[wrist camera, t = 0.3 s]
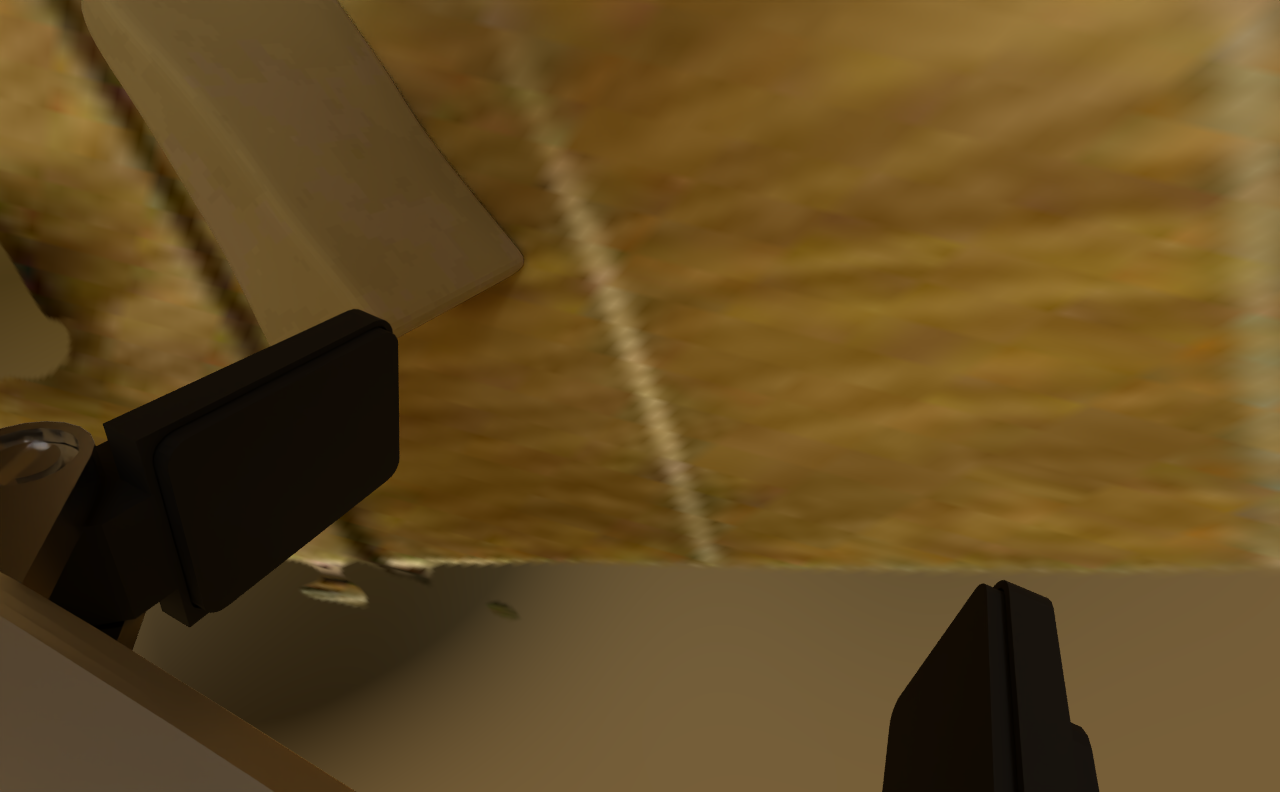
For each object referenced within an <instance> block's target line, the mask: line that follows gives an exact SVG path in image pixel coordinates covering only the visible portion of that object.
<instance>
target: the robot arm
mask: <svg viewBox="0 0 1280 792" xmlns="http://www.w3.org/2000/svg"><path fill="white" fill-rule="evenodd" d="M103 426H104V429H105V432H106V436H107V439H108V441H106V442H104V443H102V444H100V445H98V446H95V443H94V440H93V438H92V436H91V434H90V433H89V432H87V431H86V430H84V429H83V428H81V427H80V426H76V425H72V424H69V423H65V422H50V421H43V422H31V423H22V424H18V425H14V426H9V427H5V428H1V429H0V792H356V791H354V790H353V789H351V788H349V787H348V786H346V785H345V784H343V783H342V782H340V781H338V780H337V779H335V778H334V777H332V776H330V775H329V774H327V773H326V772H324V771H323V770H321V769H319V768H318V767H316V766H315V765H313V764H311V763H310V762H308V761H307V760H305V759H304V758H302V757H301V756H299V755H297V754H296V753H294V752H293V751H291V750H289V749H288V748H286V747H285V746H283V745H282V744H280V743H278V742H277V741H275V740H274V739H272V738H270V737H269V736H267V735H266V734H264V733H262V732H261V731H259V730H258V729H256V728H255V727H253V726H252V725H250V724H248V723H247V722H245V721H244V720H242V719H240V718H239V717H237V716H236V715H234V714H232V713H231V712H229V711H228V710H226V709H225V708H223V707H221V706H219V705H218V704H216V703H215V702H213V701H212V700H210V699H208V698H207V697H205V696H204V695H202V694H201V693H199V692H197V691H196V690H194V689H193V688H191V687H189V686H188V685H186V684H185V683H183V682H181V681H180V680H178V679H176V678H175V677H173V676H172V675H170V674H169V673H167V672H165V671H164V670H162V669H161V668H159V667H158V666H156V665H154V664H153V663H151V662H149V661H148V660H146V659H145V658H143V657H142V656H140V655H138V654H137V653H135V652H134V651H133V648H134V645H135V642H136V639H137V636H138V633H139V630H140V628H141V625H142V622H143V619H144V616H145V613H146V611H147V610H148V609H150V608H151V607H152V606H154V605H155V604H157V603H158V602H160V605H161V608H162V611H163V612H165V613H167V614H168V615H170V616H172V617H173V618H175V619H176V620H178V621H180V622H181V623H183V624H185V625H186V626H188V627H191V626H192V625H194V624H195V623H196V622H197V621H199V620H200V619H201V618H202V617H204V616H205V615H206V614H208V613H209V612H210V613H211V612H218V611H220V610H222V609H224V608H225V607H227V606H228V605H229V604H231V603H232V602H233V601H235V600H236V599H237V598H238V597H239V596H241V595H242V594H243V593H245V592H246V591H247V590H249V589H250V588H251V587H252V586H254V585H255V584H256V583H257V582H259V581H260V580H261V579H262V578H264V577H265V576H266V575H268V574H269V573H270V572H271V571H273V570H274V569H275V568H277V567H278V566H279V565H280V564H281V563H283V562H284V561H285V560H287V559H288V558H289V557H290V556H292V555H293V554H294V553H296V552H297V551H298V550H299V549H301V548H302V547H303V546H304V545H306V544H307V543H308V542H310V541H311V540H312V539H313V538H315V537H316V536H317V535H318V534H320V533H321V532H322V531H324V530H325V529H326V528H327V527H329V526H330V525H331V524H332V523H334V522H335V521H336V520H337V519H339V518H340V517H341V516H343V515H344V514H345V513H346V512H348V511H349V510H350V509H351V508H353V507H354V506H355V505H357V504H358V503H359V502H360V501H362V500H363V499H364V498H365V497H367V496H368V495H369V494H371V493H372V492H373V491H374V490H376V489H377V488H378V487H379V486H381V485H382V484H383V483H385V482H386V481H387V480H388V479H389V478H390V477H391V476H392V475H393V474H394V472H395V471H396V469H397V466H398V463H399V382H398V340H397V337H396V335H395V334H393V330H392V327H391V325H390V323H388V322H387V321H386V320H383V319H381V318H378V317H376V316H374V315H371V314H369V313H367V312H364V311H362V310H359V309H352V310H348V311H346V312H344V313H341V314H339V315H337V316H335V317H333V318H331V319H329V320H326V321H324V322H322V323H320V324H318V325H316V326H313V327H311V328H309V329H307V330H305V331H303V332H300V333H298V334H296V335H294V336H292V337H290V338H287V339H285V340H283V341H281V342H279V343H277V344H274V345H272V346H270V347H268V348H266V349H264V350H261V351H259V352H257V353H255V354H253V355H251V356H248V357H246V358H244V359H242V360H240V361H238V362H236V363H233V364H231V365H229V366H227V367H225V368H223V369H220V370H218V371H216V372H214V373H212V374H210V375H207V376H205V377H203V378H201V379H199V380H197V381H194V382H192V383H190V384H188V385H186V386H184V387H181V388H179V389H177V390H175V391H173V392H171V393H168V394H166V395H164V396H162V397H160V398H158V399H155V400H153V401H151V402H149V403H147V404H145V405H143V406H140V407H138V408H136V409H134V410H132V411H130V412H127V413H125V414H123V415H121V416H119V417H117V418H114V419H112V420H110V421H108V422H106V423H104V424H103ZM882 792H1099V787H1098V782H1097V777H1096V770H1095V764H1094V759H1093V753H1092V748H1091V745H1090V742H1089V738H1088V735H1087V734H1086V733H1085V731H1084V730H1083V729H1082V727H1080V726H1078V725H1075V724H1073V723H1071V722H1070V716H1069V709H1068V702H1067V695H1066V689H1065V682H1064V675H1063V669H1062V662H1061V655H1060V648H1059V642H1058V635H1057V629H1056V622H1055V615H1054V608H1053V605H1052V602H1051V601H1050V600H1049V599H1048V598H1046V597H1043V596H1041V595H1039V594H1036V593H1034V592H1031V591H1029V590H1027V589H1024V588H1022V587H1020V586H1017V585H1015V584H1012V583H1010V582H1007V581H1005V580H1001V581H999V582H998V583H997V584H996V585H995V586H994V587H991V586H988V585H986V584H980V585H979V586H978V587H977V588H976V589H975V590H974V592H973V593H972V595H971V596H970V597H969V599H968V600H967V602H966V603H965V605H964V606H963V608H962V609H961V610H960V612H959V613H958V614H957V616H956V617H955V619H954V620H953V622H952V623H951V624H950V626H949V627H948V629H947V630H946V632H945V633H944V634H943V636H942V637H941V639H940V640H939V641H938V643H937V644H936V646H935V647H934V648H933V650H932V651H931V653H930V654H929V656H928V657H927V658H926V660H925V661H924V663H923V664H922V665H921V667H920V668H919V670H918V671H917V673H916V674H915V676H914V677H913V678H912V680H911V681H910V683H909V684H908V685H907V687H906V688H905V690H904V691H903V692H902V694H901V695H900V697H899V698H898V700H897V702H896V705H895V707H894V709H893V712H892V716H891V720H890V726H889V735H888V745H887V754H886V763H885V772H884V782H883V790H882Z"/></svg>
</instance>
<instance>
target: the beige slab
mask: <svg viewBox="0 0 1280 792" xmlns="http://www.w3.org/2000/svg"><path fill="white" fill-rule="evenodd" d="M81 3H82V12H83V16H84V19H85V22H86V25H87V27H88V29H89V31H90V34H91V36H92V37H93V39H94V41H95V43H96V45H97V47H98V49H99V50H100V52H101V54H102V55H103V57H104V59H105V60H106V62H107V63H108V65H109V67H110V68H111V70H112V71H113V73H114V74H115V76H116V77H117V79H118V80H119V82H120V83H121V85H122V86H123V88H124V89H125V91H126V92H127V94H128V95H129V97H130V98H131V100H132V102H133V103H134V105H135V106H136V108H137V109H138V111H139V112H140V114H141V116H142V117H143V119H144V120H145V122H146V124H147V125H148V127H149V128H150V130H151V132H152V133H153V135H154V137H155V138H156V140H157V142H158V143H159V145H160V146H161V148H162V150H163V151H164V153H165V155H166V156H167V158H168V160H169V161H170V163H171V165H172V166H173V168H174V170H175V171H176V173H177V175H178V176H179V178H180V180H181V181H182V183H183V184H184V186H185V188H186V189H187V191H188V193H189V194H190V196H191V198H192V199H193V201H194V203H195V204H196V206H197V208H198V209H199V211H200V213H201V214H202V216H203V218H204V219H205V221H206V223H207V224H208V226H209V228H210V230H211V231H212V233H213V235H214V237H215V238H216V240H217V242H218V244H219V245H220V247H221V249H222V251H223V253H224V255H225V256H226V258H227V260H228V262H229V264H230V266H231V268H232V270H233V272H234V274H235V276H236V278H237V280H238V282H239V284H240V286H241V288H242V290H243V292H244V294H245V296H246V298H247V300H248V302H249V304H250V306H251V308H252V310H253V313H254V315H255V317H256V319H257V321H258V323H259V325H260V327H261V329H262V331H263V333H264V335H265V337H266V339H267V341H268V343H269V345H270V346H272V345H274V344H277V343H279V342H281V341H283V340H285V339H287V338H290V337H292V336H294V335H296V334H298V333H300V332H303V331H305V330H307V329H309V328H311V327H313V326H316V325H318V324H320V323H322V322H324V321H326V320H329V319H331V318H333V317H335V316H337V315H339V314H341V313H344V312H346V311H348V310H352V309H359V310H362V311H364V312H367V313H369V314H371V315H374V316H376V317H378V318H381V319H383V320H386V321H387V322H388V323H390V325H391V327H392V330H393V334H395V335H396V337H397V338H398V337H400V336H402V335H404V334H406V333H407V332H409V331H411V330H413V329H415V328H417V327H418V326H420V325H422V324H424V323H426V322H428V321H429V320H431V319H433V318H435V317H437V316H438V315H440V314H442V313H444V312H446V311H448V310H449V309H451V308H453V307H455V306H457V305H459V304H460V303H462V302H464V301H466V300H468V299H470V298H471V297H473V296H475V295H477V294H479V293H481V292H482V291H484V290H486V289H488V288H490V287H492V286H493V285H495V284H497V283H499V282H501V281H503V280H504V279H506V278H508V277H510V276H511V275H513V274H514V273H515V272H517V271H518V270H519V269H520V268H521V267H522V266H523V263H524V259H523V256H522V254H521V253H520V251H519V250H518V249H517V247H516V246H515V245H514V244H513V242H512V241H511V240H510V239H509V237H508V236H507V235H506V234H505V232H504V231H503V230H502V229H501V228H500V226H499V225H498V224H497V223H496V221H495V220H494V219H493V218H492V217H491V215H490V214H489V213H488V212H487V211H486V209H485V208H484V207H483V206H482V204H481V203H480V202H479V201H478V199H477V198H476V197H475V196H474V195H473V193H472V192H471V191H470V190H469V188H468V187H467V186H466V185H465V183H464V182H463V181H462V180H461V178H460V177H459V176H458V175H457V173H456V172H455V171H454V170H453V168H452V167H451V166H450V164H449V163H448V162H447V161H446V159H445V158H444V157H443V155H442V154H441V153H440V151H439V150H438V149H437V147H436V146H435V145H434V143H433V142H432V141H431V139H430V138H429V137H428V135H427V134H426V132H425V131H424V129H423V128H422V127H421V125H420V124H419V122H418V121H417V119H416V118H415V116H414V115H413V113H412V112H411V110H410V109H409V107H408V105H407V104H406V102H405V101H404V99H403V97H402V96H401V94H400V93H399V91H398V89H397V88H396V86H395V84H394V83H393V81H392V80H391V78H390V77H389V75H388V73H387V72H386V70H385V69H384V67H383V66H382V64H381V63H380V61H379V60H378V58H377V57H376V55H375V54H374V53H373V51H372V50H371V48H370V47H369V45H368V44H367V42H366V41H365V40H364V38H363V37H362V35H361V34H360V33H359V31H358V30H357V28H356V27H355V25H354V24H353V23H352V21H351V20H350V18H349V17H348V16H347V14H346V13H345V11H344V10H343V9H342V7H341V6H340V4H339V3H338V2H337V0H82V2H81Z"/></svg>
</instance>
